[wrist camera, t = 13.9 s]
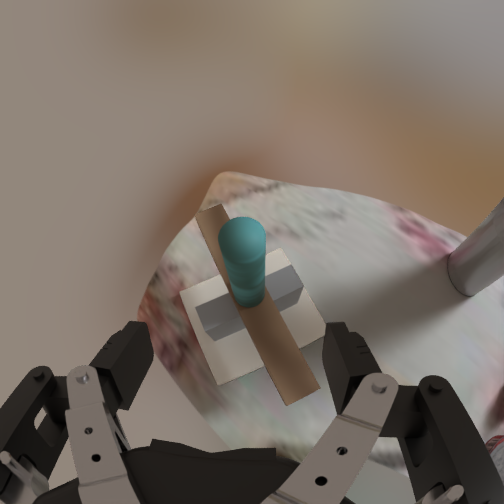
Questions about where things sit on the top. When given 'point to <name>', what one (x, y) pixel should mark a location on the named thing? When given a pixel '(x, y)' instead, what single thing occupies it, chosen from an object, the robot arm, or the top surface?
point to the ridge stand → (232, 327)
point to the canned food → (497, 453)
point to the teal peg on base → (256, 298)
